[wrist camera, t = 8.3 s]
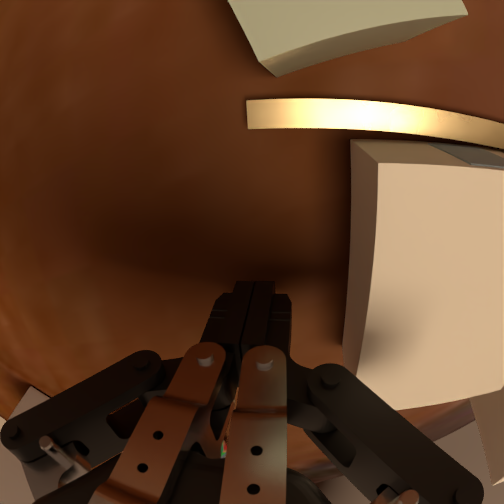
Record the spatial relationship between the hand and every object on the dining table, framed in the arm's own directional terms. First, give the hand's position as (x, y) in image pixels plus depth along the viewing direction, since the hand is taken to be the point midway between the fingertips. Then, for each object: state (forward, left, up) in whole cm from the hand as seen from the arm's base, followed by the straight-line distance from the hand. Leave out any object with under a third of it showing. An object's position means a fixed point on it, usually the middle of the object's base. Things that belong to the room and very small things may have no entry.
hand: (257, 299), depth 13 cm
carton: (-1, +8, -2) cm, 8 cm away
